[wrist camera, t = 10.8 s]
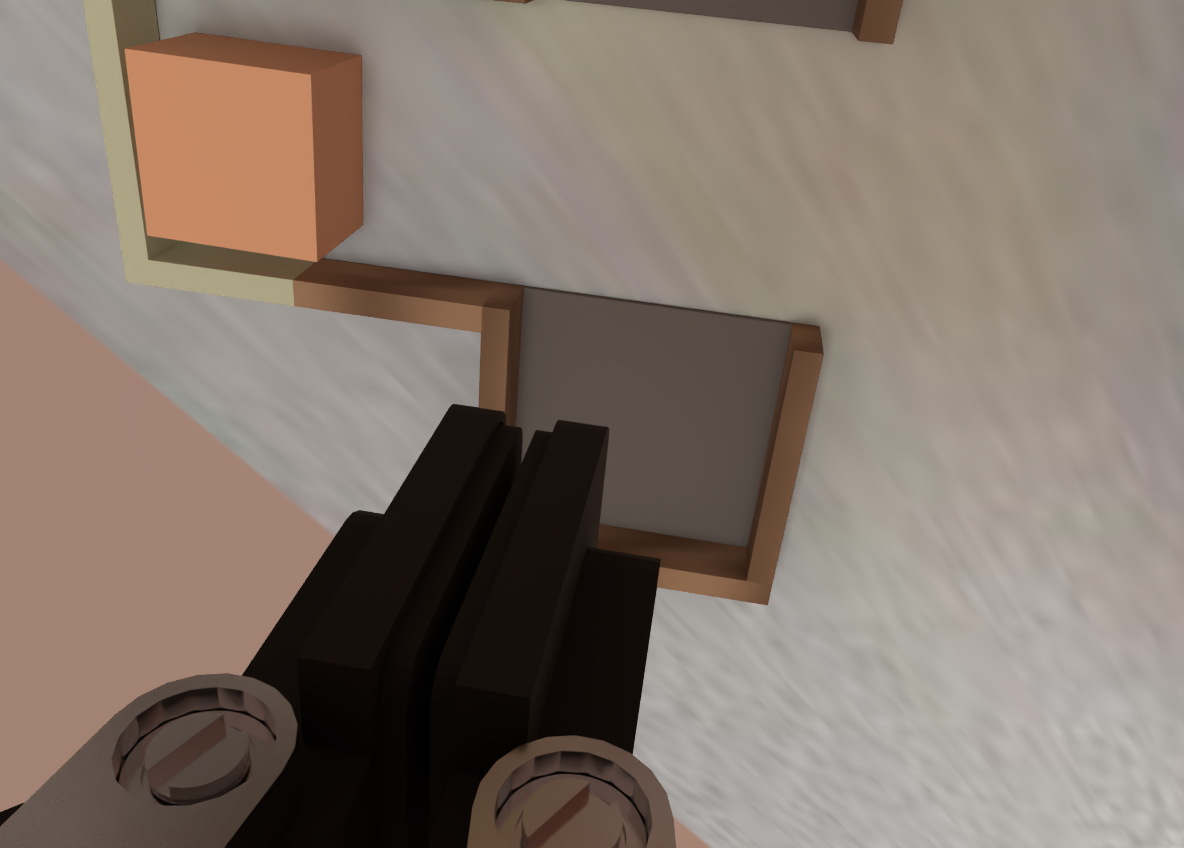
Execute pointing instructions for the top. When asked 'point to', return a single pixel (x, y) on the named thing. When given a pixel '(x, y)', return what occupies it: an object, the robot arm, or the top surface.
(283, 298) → the box
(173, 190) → the block
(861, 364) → the top surface
